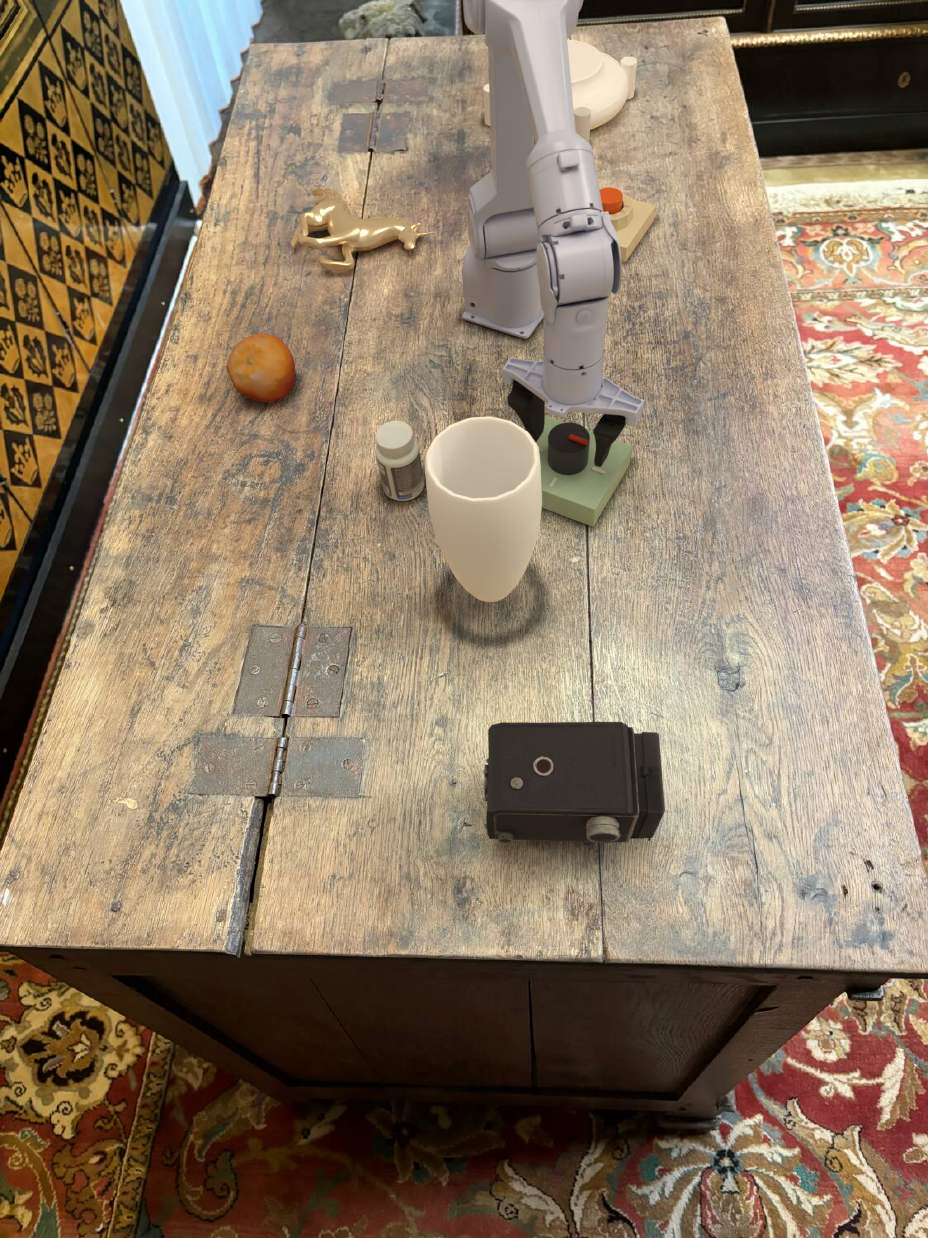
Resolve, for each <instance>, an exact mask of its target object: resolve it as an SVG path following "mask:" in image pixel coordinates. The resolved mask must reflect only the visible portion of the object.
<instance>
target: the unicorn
mask: <svg viewBox="0 0 928 1238" xmlns="http://www.w3.org/2000/svg"><path fill="white" fill-rule="evenodd" d="M310 193H311V195H312V196H313V198H314V200H316V201H317V202H318V203H316V204H315V205H314V206H313V207H312V209H311V211H310V210H309V211H305V212H303V213H302V214H301V215H300V217H299V223H300V224H299V226H298V227H296V229H295V231H294V232H293V235H292V238H291V240H290V241H289V244H290V248H291V249H292V250H294V249H296V247H297V246H298V245H299V243H300V245H302V246H303V247H307V248H312V249H313V248H314V249H318V250H323V249H326V248H331V247H336V246H341V254H342V257H343V258H344V261H336V260H332V259H328V258H327V257H326V256H324V255H318V261H319V265H320V266H321V267H322V268H323V269H325V270H328V271H332V272H350V271H352V270H353V269H354V267H355V264H356V263H355V259H354V257H353V254H355V253H357V252H367V251H371V250H374V249H377V248H380V247H382V246H384V245H386V244H388V243H391V242H394V241H397V240H399V241H400V242H401V243H402V244H403V248H404V250H406V251H412V250H413V249H414V248H416V242H417V240H418V239H419V237H424V236H427V235H428V236H429V235H432V234H436V233H437V231H431V232H430V231H429V232H418V231H419V229H420V227H421V222H417V223H415V224H413V223H412V222H411V221H409V220H407V219H405V218H401V217H399V215H396V216H388V215H375V216H373V215H370V214H368V215H367V218H360V217H357V216H354V215H352V213H351V211H350V209H349V207H348V206H349V205H348V204H347V202H346V201H344V200H343V197H342V194H341V193H340V192H339V191H338V190H336V189H334V190H333V189H332V188H329V187H325V188H321V187H319V188H317V187H315V188H313V189H312V190H311V191H310ZM325 231H328V233H329V235H328V236H325V237H321V238H316V237H311V236H308V235H310V234H313V233H319V232H325Z"/></svg>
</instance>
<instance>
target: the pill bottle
mask: <svg viewBox="0 0 928 1238" xmlns="http://www.w3.org/2000/svg"><path fill="white" fill-rule="evenodd" d="M374 438H375V443H376V446H375V449H374V454H375V459H376V463H377V467H378V472H379V475H380V482H381V486H382V490H383V491H384V494H385V495H386V496H387V497H388V498H390V499H392V500H394V501H397V502H408V501H410V500H413V499H415V498H417V497H419V495H420V494H421V493H422V492H423V490H424V487H425V477H424V471H423V465H422V460H421V452H420V446H419V443H418V441H417V440H416V438H415V435H414V432H413V429H412V427H411V426H410V424H408V423H407V422H405V421H402V420H390V421H387V422H385V423H383V424H381V425H380V426H379V427H378V428H377V430H376V432H375V436H374Z"/></svg>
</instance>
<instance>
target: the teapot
mask: <svg viewBox="0 0 928 1238" xmlns="http://www.w3.org/2000/svg"><path fill="white" fill-rule="evenodd" d="M567 44H568V55H569V66H570V77H571V88H572V99H573V110H574V121H575V131H576V133H577V134H578V135H579V136H581V137H582V138H583V139H585V140H586V141H588V142H589V143H590V136H591V130H595V128H598V127H600V126H602V125H604V124H607V123H608V122H609V121H611V120H612V119H613V118H614V117H616V116H617V114H619V112H620V111H621V110H622V109H623V107H624V105H625V103H626V101H629V100H631V99H633V98H634V96H635V88H636V87H635V86H636V76H637V67H638V59H637V58H636V57H634V56H624V57H622V58H621V59H620V62H618V61H617V60H616V59H615V58H613V57H612V56H611V55H609V54H608V53H605V52H603V51H600V50H598V49H597V48H596V47H594V45H591V44H589V43H587V42H584V41H580V40H576V39H568V40H567ZM482 91H483V92H482V93H483V115H484V116H483V117H484V124H485V125H486V126H489V127H490V97H489V83H487V84H484V86H483V87H482Z"/></svg>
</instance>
